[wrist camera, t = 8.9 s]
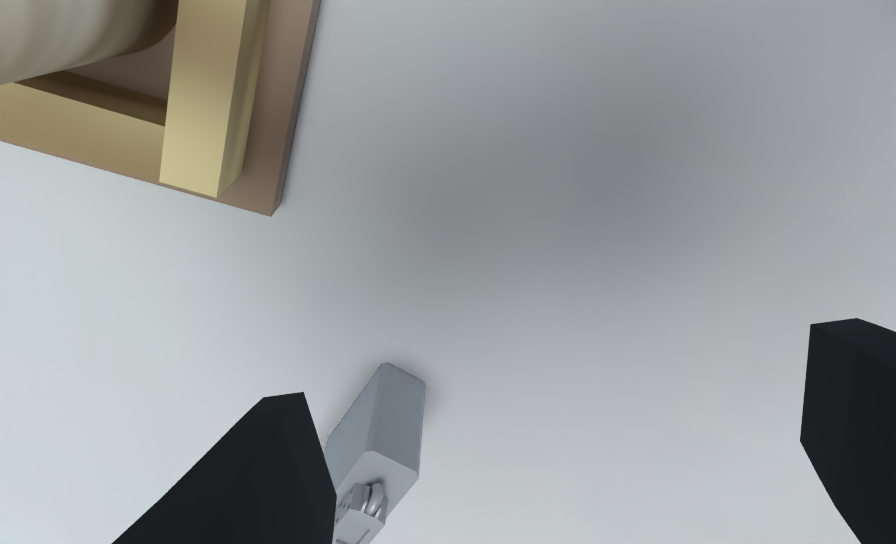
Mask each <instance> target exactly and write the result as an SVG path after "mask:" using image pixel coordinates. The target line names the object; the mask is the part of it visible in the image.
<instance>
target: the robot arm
mask: <svg viewBox="0 0 896 544" xmlns="http://www.w3.org/2000/svg"><path fill="white" fill-rule="evenodd" d="M800 442H801V444H802V446H803V447H804V449H805V451H806V453H807V455H808V457H809V459H810V461H811V463H812V465H813V467H814V469H815V471H816V473H817V475H818V477H819V478H820V480H821V482H822V484H823V485H824V487H825V489H826V491H827V493H828V494H829V496H830V498H831V500H832V502H833V503H834V505H835V507H836V508H837V510H838V511H839V513H840V514H841V516H842V517H843V518H844V520H845V521H846V523H847V524H848V526H849V527H850V528H851V530H852V531H853V533H854V534H855V535H856V537H857V538H858V540H859V541H860V543H861V544H896V332H894V331H892V330H889V329H886V328H884V327H881V326H878V325H876V324H873V323H870V322H867V321H864V320H861V319H858V318H855V319H847V320H840V321H832V322H825V323H817V324H811V326H810V337H809V348H808V359H807V370H806V381H805V392H804V403H803V414H802V425H801V436H800ZM336 501H337V495H336V492H335V489H334V485H333V482H332V479H331V476H330V473H329V470H328V467H327V464H326V460H325V457H324V454H323V451H322V448H321V445H320V442H319V439H318V435H317V432H316V429H315V426H314V423H313V420H312V417H311V414H310V411H309V407H308V404H307V401H306V398H305V395H304V392H300V393H293V394H285V395H278V396H270V397H264V398H262V399H261V400H260V401H259V402H258V403H257V404H256V405H254V406H253V407H252V408H251V409H250V410H249V411H248V412H247V413H246V414H245V415H244V416H243V417H242V418H241V419H240V420H239V421H238V422H237V423H236V424H235V425H234V426H233V427H232V428H231V429H230V430H229V431H228V432H227V433H226V434H225V435H224V436H223V437H222V438H221V439H220V440H219V441H218V442H217V443H216V444H215V445H214V446H213V447H212V448H211V449H210V450H209V451H208V452H207V453H206V454H205V455H204V456H203V457H202V458H201V459H200V460H199V461H198V462H197V463H196V464H195V465H194V466H193V467H192V468H191V469H190V470H189V471H188V472H187V473H186V474H185V475H184V476H183V477H182V478H181V479H180V480H179V481H178V482H177V483H176V484H175V485H174V486H173V487H172V488H171V489H170V490H169V491H168V492H167V493H166V494H165V495H164V496H163V497H162V498H161V499H160V500H159V501H157V502H156V503H155V504H154V505H153V506H152V507H151V508H150V509H149V510H148V511H147V512H146V513H144V514H143V515H142V516H141V517H140V518H139V519H138V520H137V521H136V522H135V523H134V524H132V525H131V526H130V527H129V528H128V529H127V530H126V531H125V532H124V533H123V534H122V535H121V536H119V537H118V538H117V539H116V540H115V541H114V542H113V543H112V544H332V541H333V532H334V522H335V511H336Z"/></svg>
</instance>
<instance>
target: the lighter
mask: <svg viewBox="0 0 896 544" xmlns="http://www.w3.org/2000/svg"><path fill="white" fill-rule="evenodd" d="M424 398H425V385H424V382H423V381H421V380H419V379H417V378H415V377H414V376H412V375H410V374H408V373H406V372H404V371H402V370H401V369H399V368H397V367H395V366H393V365H391V364H389V363H386V364H381V366H380V367H379V369H378V370H377V371H376V373H375V374H374V376H373V377H372V378H371V380H370V381H369V382H368V384H367V385H366V387H365V388H364V389H363V391H362V392H361V394H360V395H359V396H358V398H357V399H356V401H355V402H354V403H353V405H352V406H351V407H350V409H349V410H348V412H347V413H346V414H345V416H344V417H343V419H342V420H341V421H340V423H339V424H338V426H337V427H336V428H335V430H334V431H333V433H332V434H331V435H330V437H329V438H328V441H327V445H326V448H325V452H324V457H325V460H326V464H327V467H328V470H329V473H330V476H331V479H332V482H333V485H334V489H335V492H336V495H337V501H336V511H335V522H334V532H333V541H332V544H369V543H370V542H371V541H372V540H373V539H374V537H375V536H376V535H377V534H378V533H379V531H380V530H381V529H382V528H383V527H384V525H385V519H386V517H387V516H388V515H389V514H390V512H391V511H392V510H393V509H394V507H395V506H396V505H397V504H398V503H399V501H400V500H401V499H402V498H403V497H404V495H405V494H406V493H407V492H408V491H409V489H410V488H411V487H412V486H413V485H414V483H415V482H416V481H417V480H418V478H419V464H420V451H421V438H422V425H423V412H424Z"/></svg>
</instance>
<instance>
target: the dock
mask: <svg viewBox="0 0 896 544" xmlns="http://www.w3.org/2000/svg"><path fill="white" fill-rule="evenodd" d="M320 1H321V0H179V5H178V14H177V23H176V24H175V26H174V27H173V28H172V30H171V31H170V32H169V33H168V34H167V35H166V36H165V38H164V39H162V40H161V41H160V42H158V43H157V44H155V45H153V46H152V47H150V48H148V49H145V50H142V51H139V52H135V53H131V54H127V55H123V56H119V57H115V58H111V59H106V60H102V61H98V62H94V63H90V64H86V65H82V66H77V67H73V68H69V69H65V70H61V71H57V72H53V73H48V74H44V75H40V76H36V77H32V78H28V79H24V80H19V81H15V82H11V83H7V84H3V85H0V141H3V142H6V143H10V144H13V145H17V146H20V147H24V148H27V149H31V150H35V151H38V152H42V153H45V154H49V155H52V156H56V157H60V158H63V159H67V160H70V161H74V162H77V163H81V164H85V165H88V166H92V167H95V168H99V169H102V170H106V171H110V172H113V173H117V174H120V175H124V176H127V177H131V178H135V179H138V180H142V181H145V182H149V183H152V184H156V185H160V186H163V187H167V188H170V189H174V190H177V191H181V192H184V193H188V194H192V195H195V196H199V197H202V198H206V199H209V200H213V201H217V202H220V203H224V204H227V205H231V206H234V207H238V208H242V209H245V210H249V211H252V212H256V213H259V214H263V215H267V216H270V217H271V216H272V215H273V213H274V212H275V211H276V209H277V208H278V207H279V205H280V202H281V197H282V192H283V187H284V182H285V176H286V171H287V166H288V161H289V156H290V151H291V146H292V141H293V136H294V131H295V126H296V121H297V116H298V111H299V106H300V101H301V96H302V91H303V86H304V81H305V76H306V71H307V66H308V61H309V56H310V51H311V46H312V41H313V36H314V31H315V26H316V21H317V16H318V11H319V6H320Z"/></svg>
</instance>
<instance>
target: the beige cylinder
mask: <svg viewBox="0 0 896 544" xmlns="http://www.w3.org/2000/svg"><path fill="white" fill-rule="evenodd" d="M178 5H179V0H0V85H3V84H7V83H11V82H15V81H19V80H24V79H28V78H32V77H36V76H40V75H44V74H48V73H53V72H57V71H61V70H65V69H69V68H73V67H77V66H82V65H86V64H90V63H94V62H98V61H102V60H106V59H111V58H115V57H119V56H123V55H127V54H131V53H135V52H139V51H142V50H145V49H148V48H150V47H152V46H153V45H155V44H157V43H158V42H160V41H161V40H162V39H164V38H165V36H166V35H167V34H168V33H169V32H170V31H171V30H172V28H173V27H174V26H175V24H176V23H177V14H178Z"/></svg>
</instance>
